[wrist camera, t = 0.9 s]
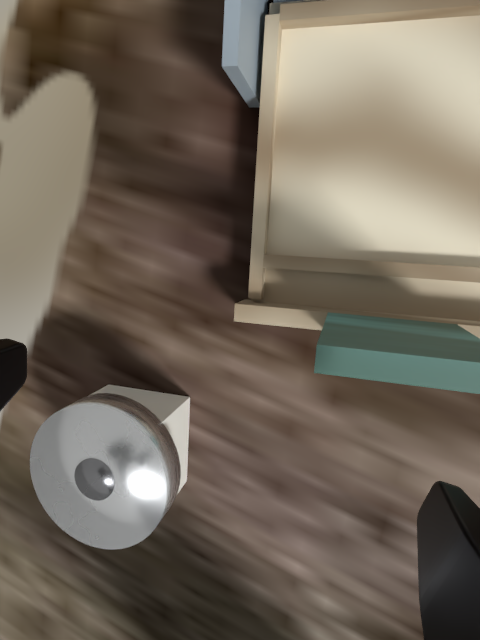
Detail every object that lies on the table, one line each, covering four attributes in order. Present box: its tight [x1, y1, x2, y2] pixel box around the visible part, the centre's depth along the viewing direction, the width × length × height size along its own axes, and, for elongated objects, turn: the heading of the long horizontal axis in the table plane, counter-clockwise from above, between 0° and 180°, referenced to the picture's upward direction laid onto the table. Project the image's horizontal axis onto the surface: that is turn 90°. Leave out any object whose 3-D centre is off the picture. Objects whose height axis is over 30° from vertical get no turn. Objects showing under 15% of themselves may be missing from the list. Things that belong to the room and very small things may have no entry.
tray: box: [234, 0, 480, 394], centre depth 14 cm, size 14×13×8 cm
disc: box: [30, 393, 181, 550], centre depth 19 cm, size 7×7×2 cm
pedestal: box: [90, 385, 190, 494], centre depth 22 cm, size 5×5×4 cm
